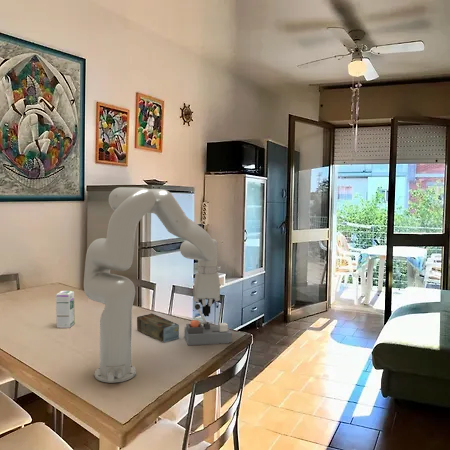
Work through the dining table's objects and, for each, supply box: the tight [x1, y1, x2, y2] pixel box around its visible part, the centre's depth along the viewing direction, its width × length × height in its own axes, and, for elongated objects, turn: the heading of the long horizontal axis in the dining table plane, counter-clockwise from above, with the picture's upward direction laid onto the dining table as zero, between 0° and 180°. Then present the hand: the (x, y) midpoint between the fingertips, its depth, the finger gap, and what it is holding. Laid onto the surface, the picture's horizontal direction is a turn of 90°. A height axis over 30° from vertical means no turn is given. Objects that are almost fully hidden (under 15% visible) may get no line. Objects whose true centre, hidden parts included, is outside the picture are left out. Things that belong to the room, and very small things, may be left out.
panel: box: [183, 321, 233, 346], centre depth 171 cm, size 10×17×6 cm, turn 104°
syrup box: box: [55, 290, 75, 329], centre depth 182 cm, size 6×6×14 cm
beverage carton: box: [136, 313, 180, 343], centre depth 175 cm, size 8×19×7 cm, turn 44°
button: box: [190, 319, 200, 328], centre depth 168 cm, size 3×3×3 cm
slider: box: [217, 322, 229, 332], centre depth 169 cm, size 3×3×2 cm
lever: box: [194, 303, 208, 324], centre depth 172 cm, size 2×2×10 cm
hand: (206, 315), depth 172 cm, fingers closed
